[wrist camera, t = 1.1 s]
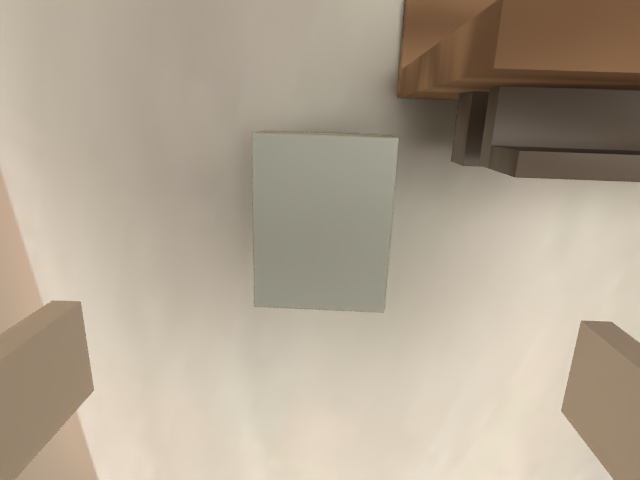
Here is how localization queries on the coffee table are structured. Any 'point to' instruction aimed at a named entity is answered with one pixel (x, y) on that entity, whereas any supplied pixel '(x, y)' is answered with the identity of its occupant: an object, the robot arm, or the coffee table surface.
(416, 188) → the coffee table surface
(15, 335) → the robot arm
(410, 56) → the brown wooden rack
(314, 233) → the grey-green box
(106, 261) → the coffee table surface
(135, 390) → the coffee table surface
